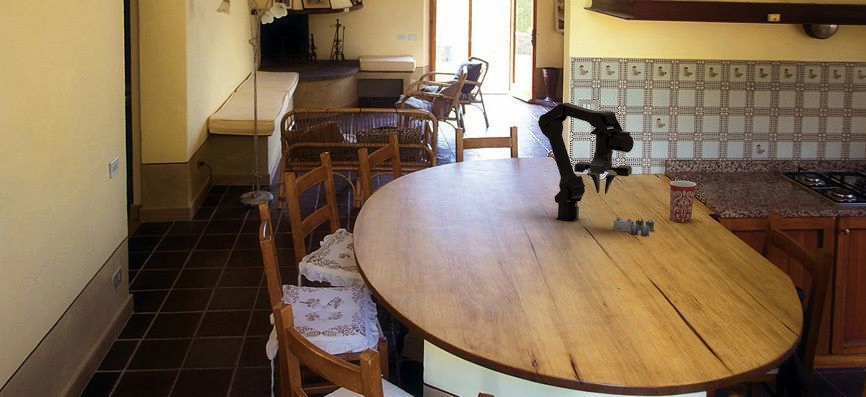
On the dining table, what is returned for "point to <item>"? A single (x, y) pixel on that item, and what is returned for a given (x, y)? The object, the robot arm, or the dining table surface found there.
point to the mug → (681, 200)
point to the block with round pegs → (622, 224)
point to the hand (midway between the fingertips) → (601, 193)
